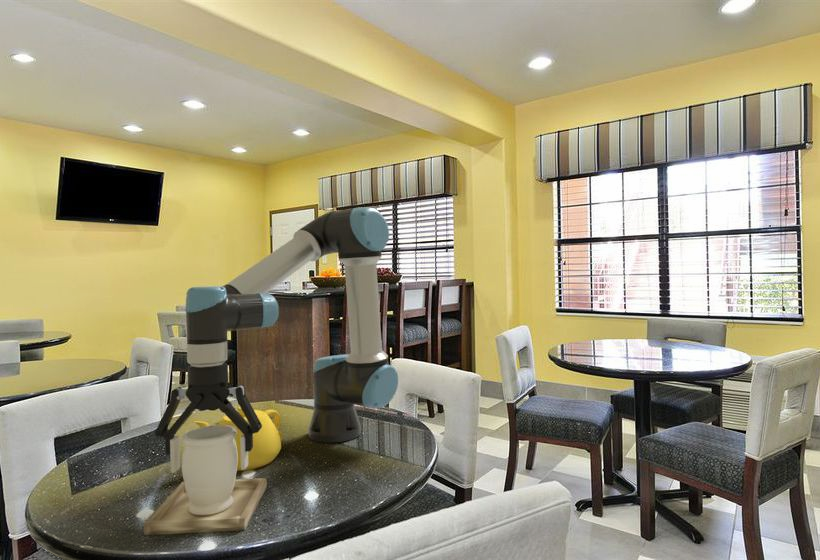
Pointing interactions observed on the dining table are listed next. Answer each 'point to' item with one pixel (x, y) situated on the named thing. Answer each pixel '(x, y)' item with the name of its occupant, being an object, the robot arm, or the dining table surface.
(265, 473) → the dining table surface
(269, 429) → the teapot
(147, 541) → the dining table surface
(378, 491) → the dining table surface
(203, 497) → the jar
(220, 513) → the tray
